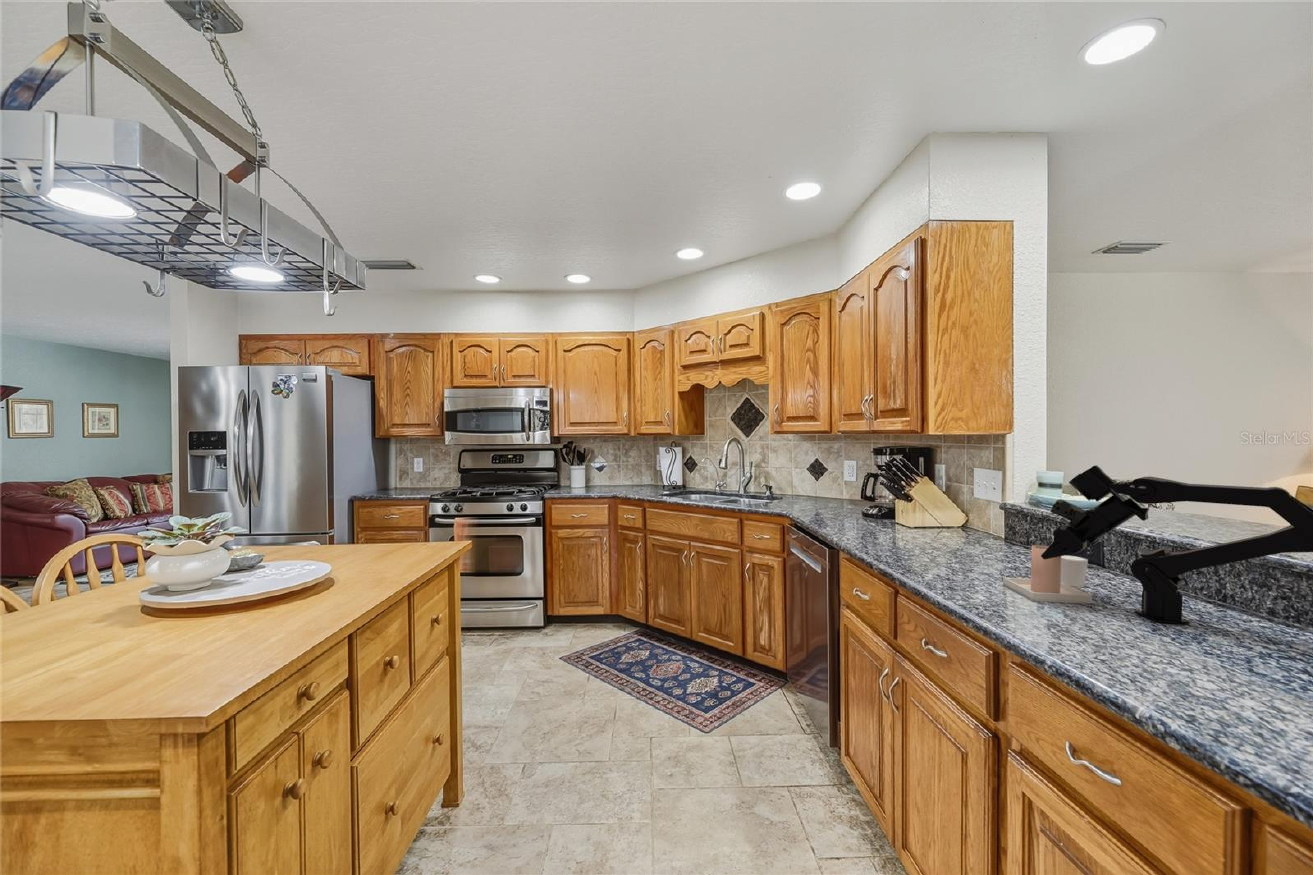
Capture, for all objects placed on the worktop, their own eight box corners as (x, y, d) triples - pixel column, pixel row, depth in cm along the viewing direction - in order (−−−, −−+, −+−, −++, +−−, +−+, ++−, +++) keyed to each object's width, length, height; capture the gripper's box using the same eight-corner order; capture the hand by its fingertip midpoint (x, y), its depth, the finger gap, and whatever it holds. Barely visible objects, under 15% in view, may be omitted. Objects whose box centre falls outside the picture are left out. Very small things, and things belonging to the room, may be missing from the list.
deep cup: (1061, 597, 128) (1062, 551, 128) (1030, 592, 132) (1031, 548, 131) (1059, 591, 133) (1060, 546, 133) (1030, 586, 136) (1031, 543, 136)
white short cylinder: (1075, 580, 145) (1076, 555, 145) (1094, 588, 138) (1094, 561, 138) (1049, 579, 146) (1049, 554, 146) (1065, 587, 139) (1066, 560, 139)
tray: (1091, 603, 125) (1091, 595, 125) (1032, 601, 127) (1033, 593, 127) (1055, 587, 138) (1056, 579, 138) (1002, 585, 140) (1003, 577, 139)
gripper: (1086, 487, 133) (1033, 524, 142) (1065, 492, 122) (1009, 532, 130) (1127, 523, 127) (1069, 560, 136) (1109, 531, 116) (1047, 571, 124)
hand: (1048, 555), depth 132 cm, fingers open, 9 cm apart
